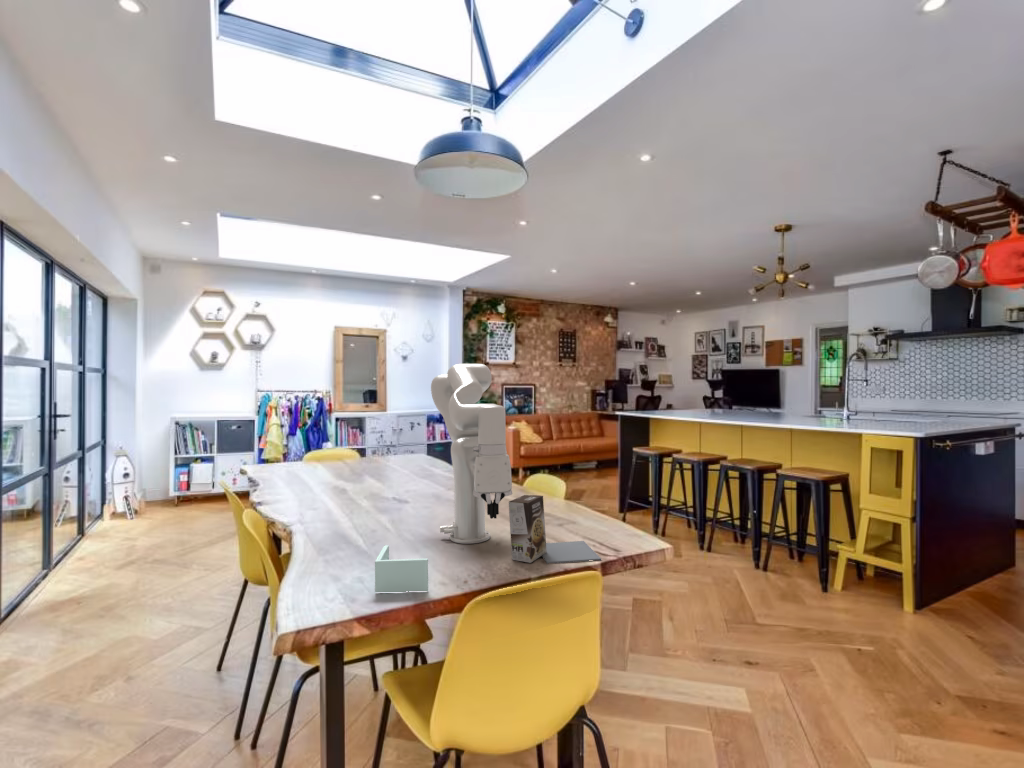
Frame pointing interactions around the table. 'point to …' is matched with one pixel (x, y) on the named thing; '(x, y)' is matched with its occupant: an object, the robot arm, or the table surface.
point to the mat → (569, 552)
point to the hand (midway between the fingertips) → (493, 517)
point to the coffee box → (527, 528)
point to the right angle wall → (400, 573)
